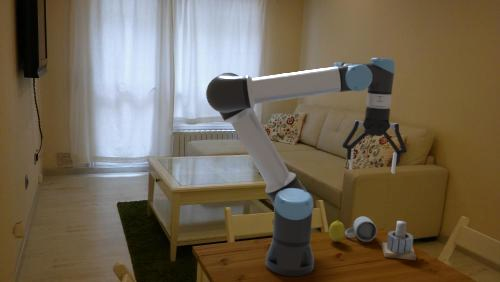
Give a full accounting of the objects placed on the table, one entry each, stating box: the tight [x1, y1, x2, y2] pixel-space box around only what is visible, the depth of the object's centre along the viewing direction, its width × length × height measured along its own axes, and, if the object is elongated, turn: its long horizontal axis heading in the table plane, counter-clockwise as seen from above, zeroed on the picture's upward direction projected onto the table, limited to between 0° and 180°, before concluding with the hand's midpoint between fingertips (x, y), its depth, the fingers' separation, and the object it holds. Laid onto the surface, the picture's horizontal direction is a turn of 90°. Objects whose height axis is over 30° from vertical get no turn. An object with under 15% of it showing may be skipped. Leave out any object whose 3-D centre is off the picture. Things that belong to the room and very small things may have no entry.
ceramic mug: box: [344, 215, 378, 243], centre depth 170 cm, size 11×8×8 cm
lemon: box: [328, 220, 346, 243], centre depth 165 cm, size 6×6×8 cm
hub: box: [386, 230, 414, 254], centre depth 158 cm, size 8×8×5 cm
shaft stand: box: [381, 220, 417, 261], centre depth 158 cm, size 10×9×11 cm
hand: (371, 171), depth 152 cm, fingers open, 13 cm apart
